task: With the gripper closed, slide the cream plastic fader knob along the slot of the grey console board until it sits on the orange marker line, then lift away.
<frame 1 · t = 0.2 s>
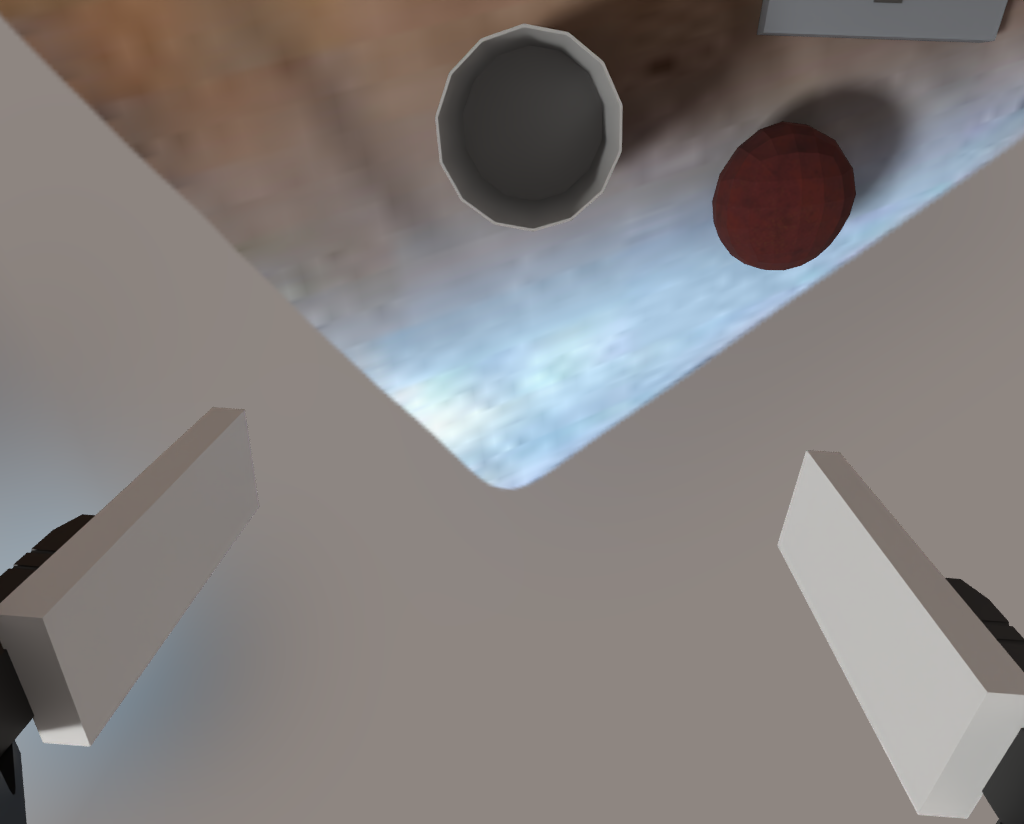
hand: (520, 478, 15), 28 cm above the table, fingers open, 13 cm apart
potato: (761, 189, 38), on the table
cup: (532, 126, 37), on the table
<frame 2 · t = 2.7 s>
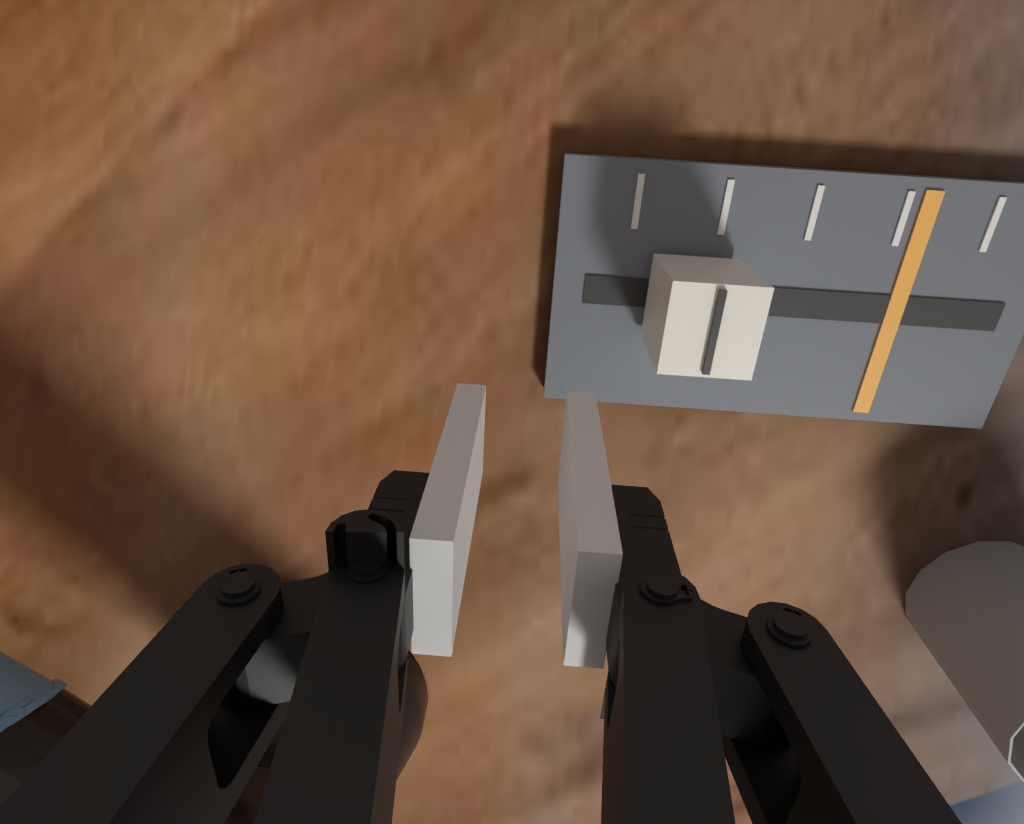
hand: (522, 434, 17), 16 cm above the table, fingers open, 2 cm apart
console: (781, 295, 31), on the table
fader: (700, 314, 28), point 4 cm above the table, slide at -5.0 cm
cup: (973, 591, 39), on the table
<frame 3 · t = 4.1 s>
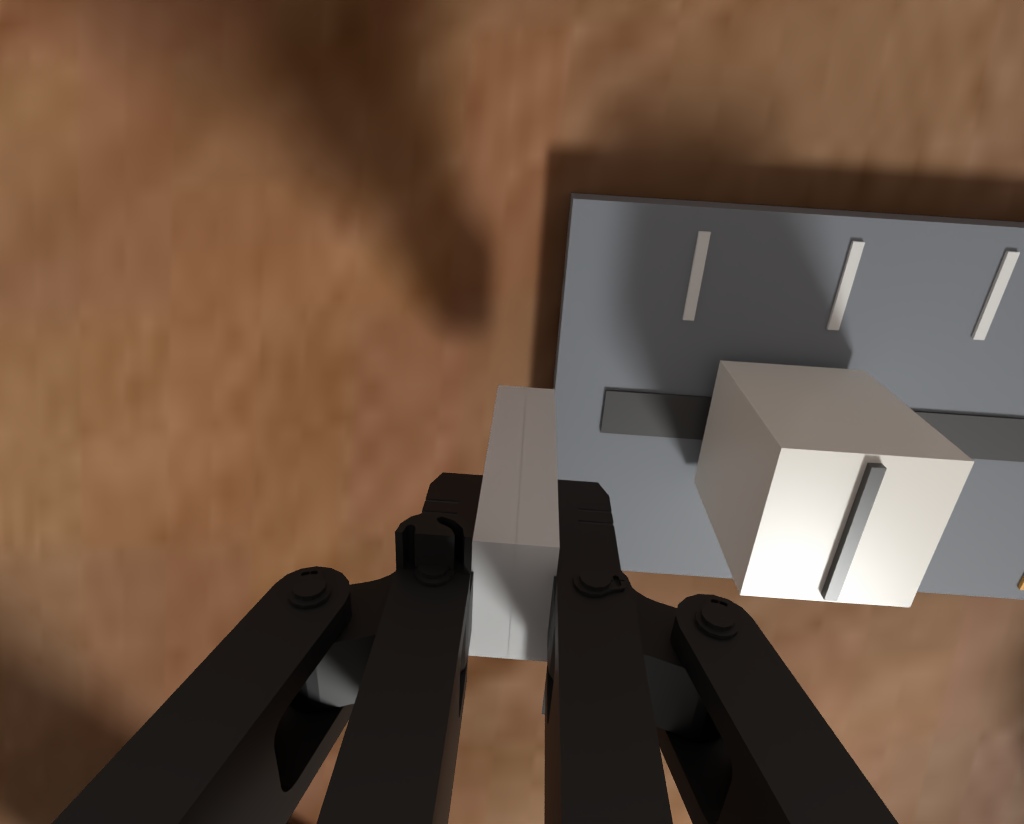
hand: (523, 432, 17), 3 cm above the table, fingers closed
console: (916, 415, 20), on the table
fader: (808, 475, 16), point 4 cm above the table, slide at -5.0 cm
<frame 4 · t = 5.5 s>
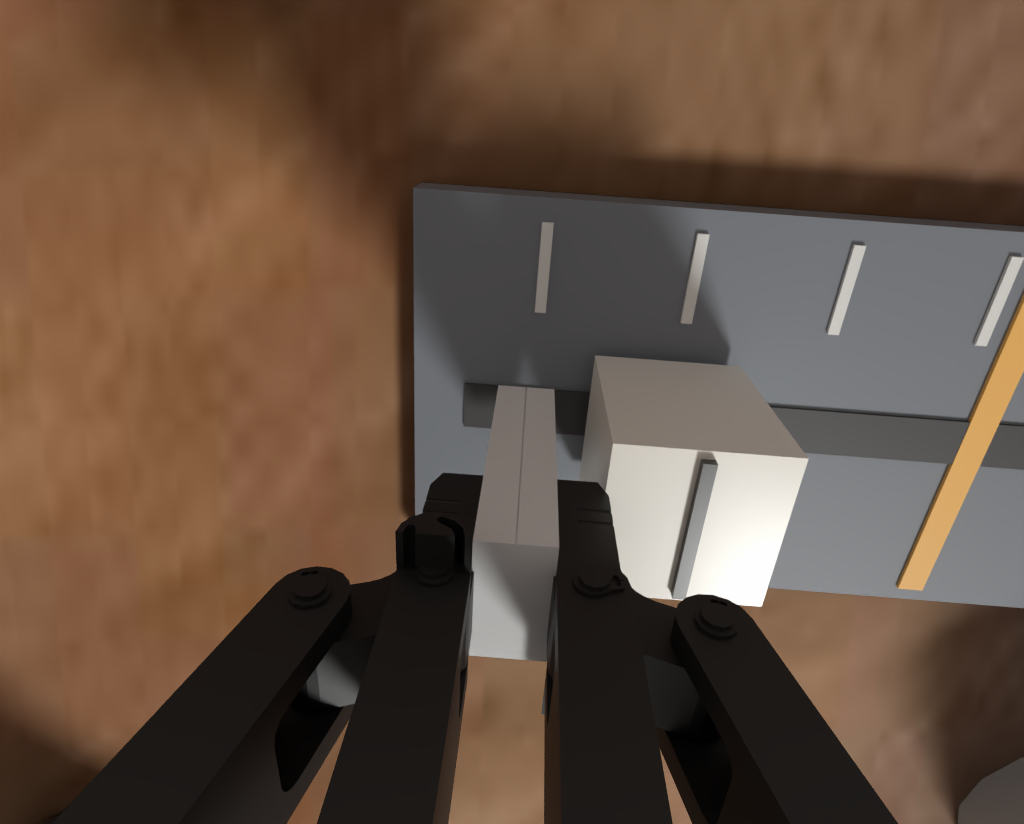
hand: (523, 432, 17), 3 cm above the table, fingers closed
console: (788, 412, 20), on the table
fader: (671, 472, 16), point 4 cm above the table, slide at -4.4 cm, touching gripper
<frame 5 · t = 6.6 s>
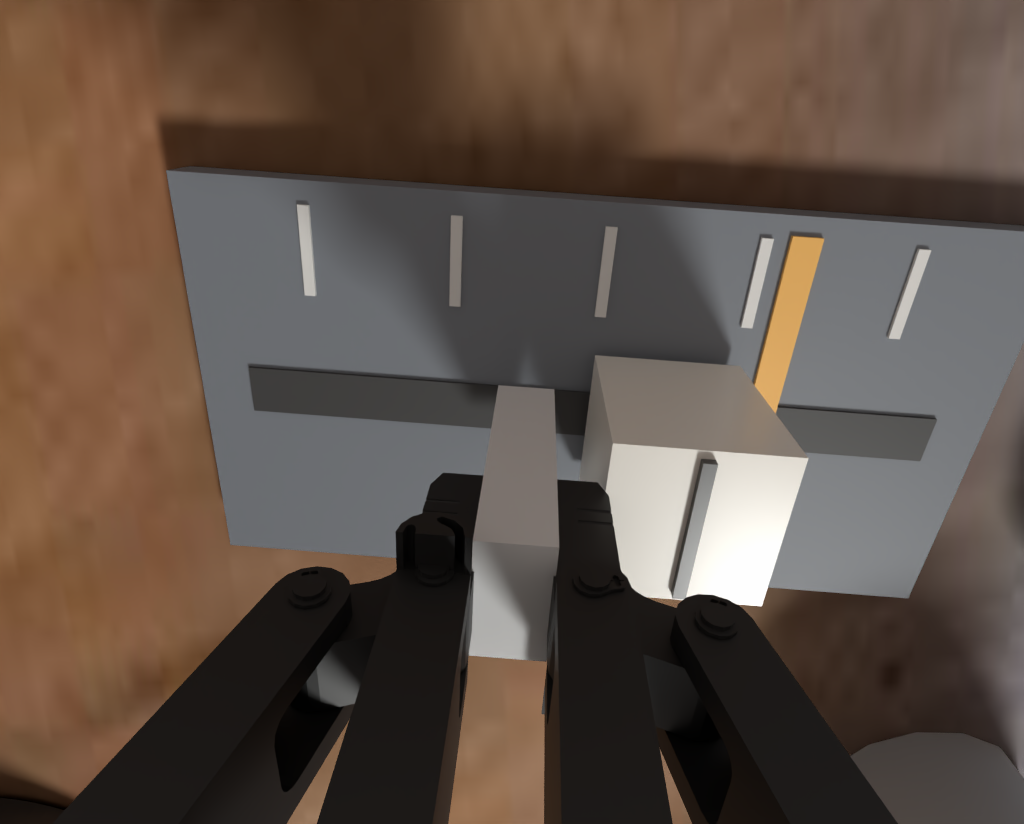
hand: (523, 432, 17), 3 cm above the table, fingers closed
console: (585, 396, 20), on the table
fader: (671, 471, 16), point 4 cm above the table, slide at 2.0 cm, touching gripper
cup: (911, 791, 28), on the table
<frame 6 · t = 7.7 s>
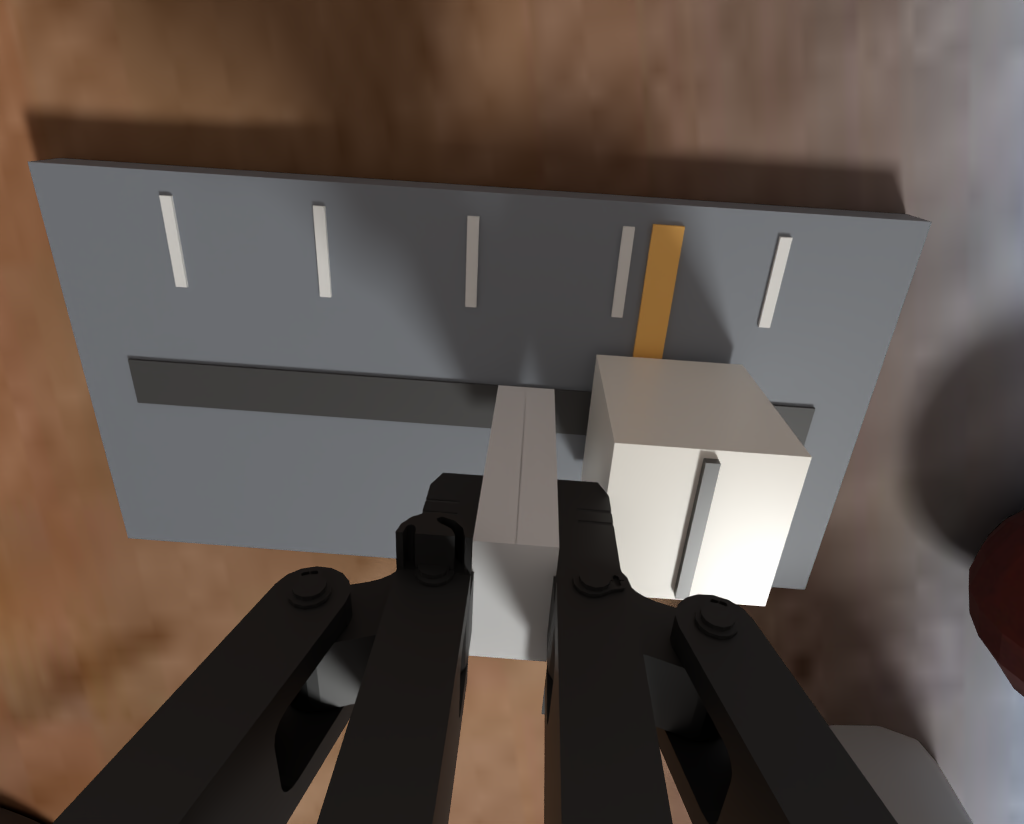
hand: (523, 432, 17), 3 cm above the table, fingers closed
console: (472, 387, 20), on the table
fader: (674, 471, 16), point 4 cm above the table, slide at 5.5 cm, touching gripper
cup: (834, 784, 28), on the table
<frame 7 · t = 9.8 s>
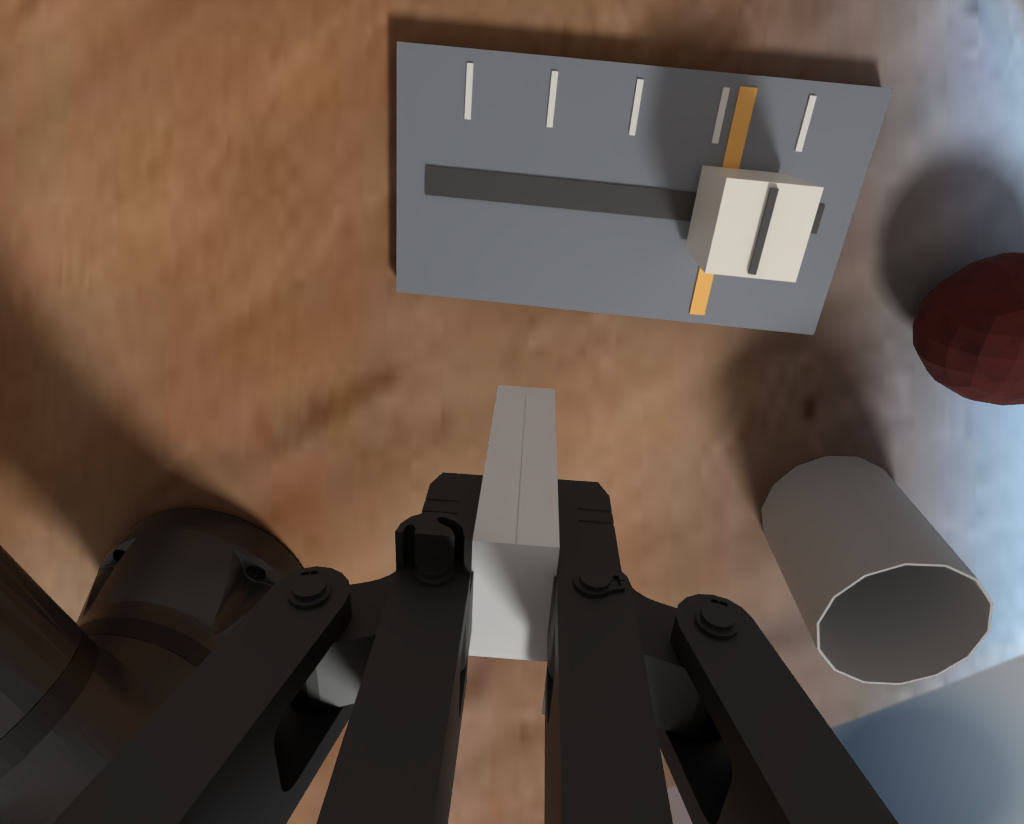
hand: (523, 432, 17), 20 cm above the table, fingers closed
potato: (962, 306, 34), on the table
console: (619, 196, 33), on the table
fader: (747, 221, 29), point 4 cm above the table, slide at 5.6 cm
cup: (826, 508, 41), on the table
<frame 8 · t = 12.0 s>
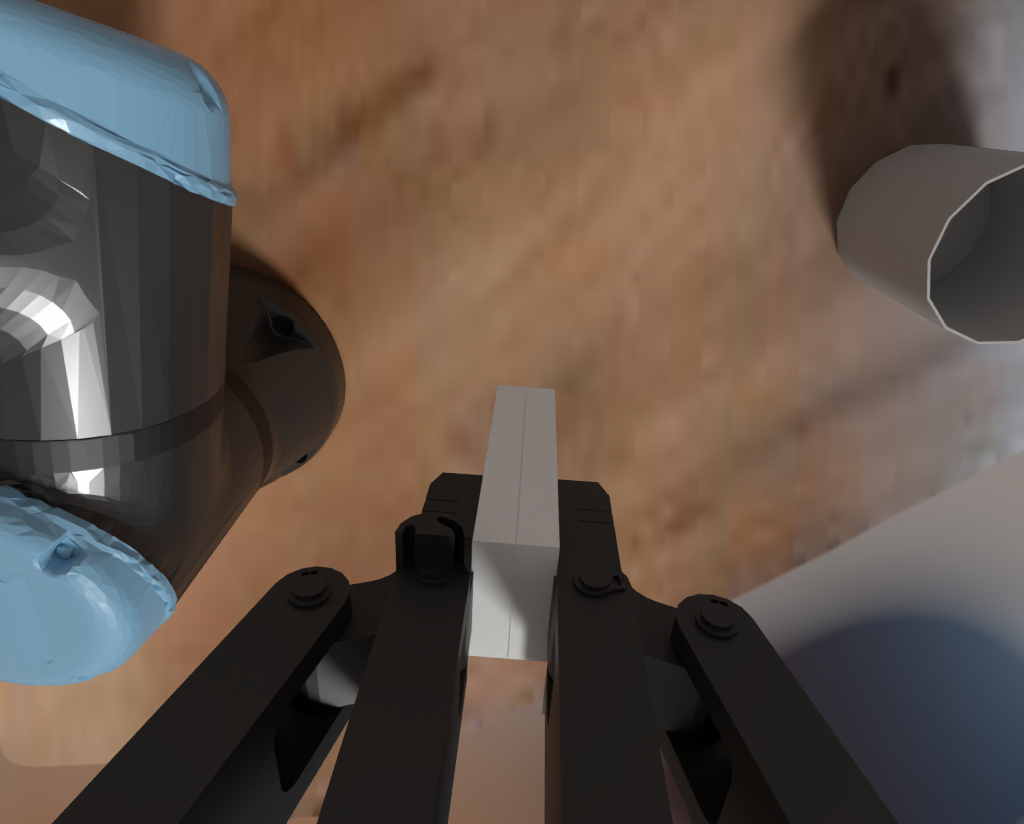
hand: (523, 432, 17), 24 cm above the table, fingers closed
cup: (907, 219, 37), on the table
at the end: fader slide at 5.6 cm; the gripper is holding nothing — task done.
